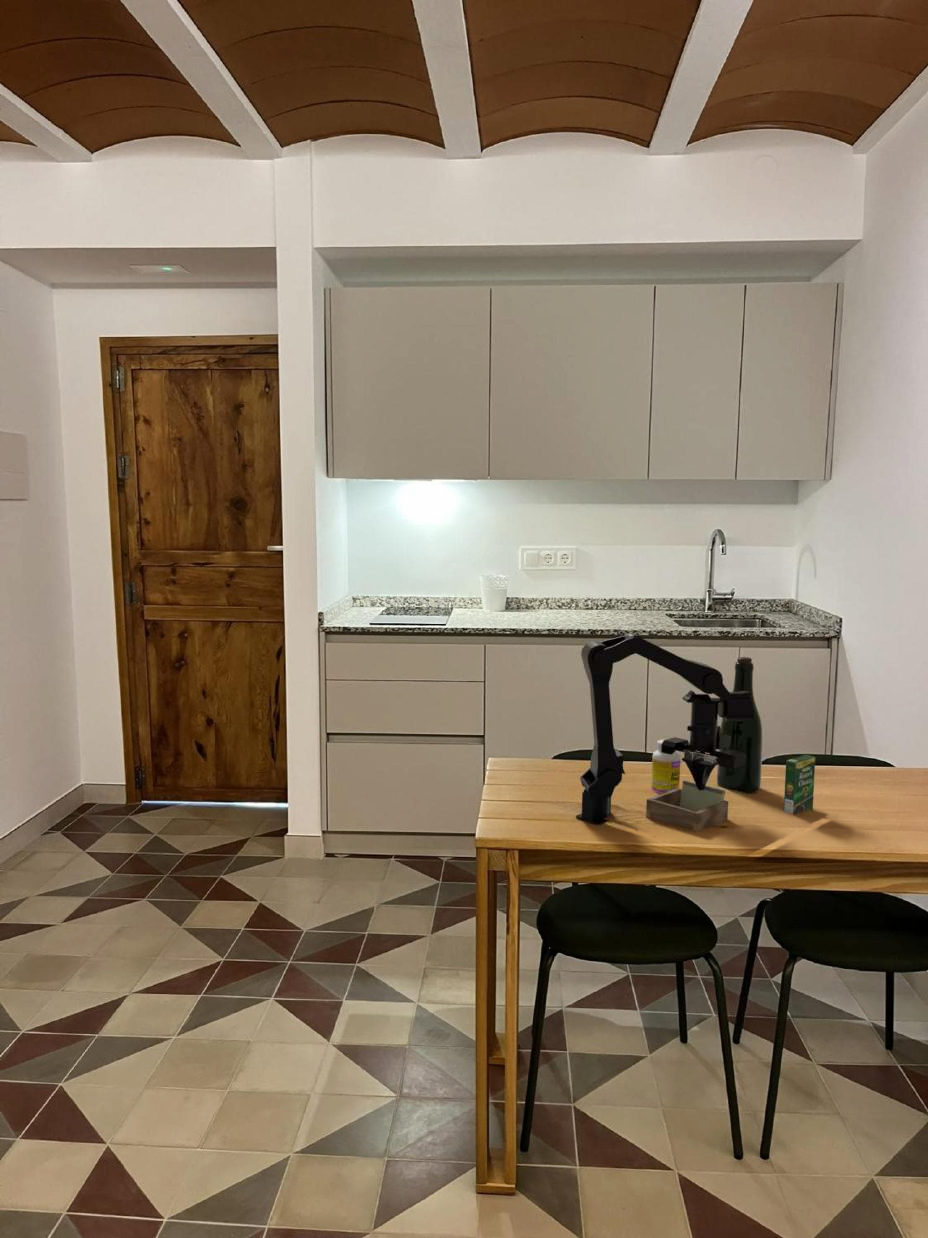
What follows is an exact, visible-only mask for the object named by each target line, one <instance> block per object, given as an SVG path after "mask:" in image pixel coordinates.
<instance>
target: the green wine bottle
mask: <svg viewBox="0 0 928 1238" xmlns="http://www.w3.org/2000/svg"><path fill="white" fill-rule="evenodd" d="M752 659H753V658H751V657H748V656H739V657H737V660H736V662H735V663H734V682H733V689H732V692H740V691H748V692H750V693H751V697H750V698H751V700H752V703H753V708H754V716H753V719H752V721H750V722H724V721H723V719H722V718H721V722H720V728H721V733H723V734H726V735H728V736H731V741H730V745H729V749H731V750H736V751H740V752H744V754H745V755H746V757H747V758H746V765H744V766H741V767H738V768H735V769H730V768H726V767H721V766H719V765H717V767H716V768H717V771H716V773H717V774H716V785H717V787H719V788H723V789H726V790H729V791H736V792H739V793H743V794H747V795H748V794H749V795H750V794H755V793H757V792H758V791H760V790H761V785H762V768H763V767H762V763H763V725H762V718H761V716H760V714H759V713H760V712H759V710H758V707H757V704H756V700H755V696H754V695H755V694H754V687H753V686H754V682H753V681H754V677H753V676H754V668H755V667H754V663H753V662H752V661H753V660H752ZM729 749H728V750H729ZM718 751H719V752H722V751H726V750H725V749H723V748H722V749H718Z"/></svg>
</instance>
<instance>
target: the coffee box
mask: <svg viewBox="0 0 928 1238" xmlns="http://www.w3.org/2000/svg"><path fill="white" fill-rule="evenodd" d="M815 769H816V757H815V756H812V755H809V754H803V755H800V756H798V757H794V758H790V759H787V760H786V761H785V774H784V775H785V776H784V796H783V797H784V799H783V812H784V813H787V814H791V815H796V814H799V813H802V812H807V811H808V810H810V811H814V789H815V772H816V771H815Z"/></svg>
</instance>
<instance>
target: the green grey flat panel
mask: <svg viewBox="0 0 928 1238" xmlns="http://www.w3.org/2000/svg"><path fill="white" fill-rule="evenodd" d="M725 795H726V790H724V789H720V788H717V787H716V788H715V787H712V786H708V785H705V788H704V790H702V791H701V790H698V788H697V786H696V784H695V782H694V781H693V782H692V781H689V780H682V787H681V800H680V806H679V807H682V808H685V809H689V810H692V811H696V812H697V811H699V810H702V809H704V808H707V807H709V806H712V805H714V804H717V803H719V802H722V801H725V797H726V796H725Z"/></svg>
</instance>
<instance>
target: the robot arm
mask: <svg viewBox="0 0 928 1238" xmlns="http://www.w3.org/2000/svg"><path fill="white" fill-rule="evenodd" d="M580 654H581V655H580V656H581V659H582V660H581V661H582V665H583V668H584V671H585V674H586V677H587V680H588V682H589V691H590V693H589V694H590V703H591V704H590V705H591V716H592V717H591V718H592V731H593V732H592V733H593V744H594V745H593V748H592V750H591V751H592V752H591V755H590V766H589V768H588V769H587V770H586V771H585V772H584V773H583V774H582V775H581V776H580V777H579V780H580V783H581V785H582V787H584V789H583V792H581V813H579V814H576V815H575V818H576V819H579V820H583V821H586V822H589V823H592V824H594V825H598V826H599V825H601V824H605V823H606V822H610V820H609V819H607V818H608V817H609V816H610V814H611V813H612V810H611V809H612V796H613V793H614V790H615V789H616V787H618V786H619V785H620V783H621V782H622V780H623V775H625V774H626V772H625V770H624V755H623V754H622V753H621V752H620V751H619V750H618V749H617V748H615V746H614V736H613V719H612V709H611V708H612V707H611V696H610V695H611V693H610V682H611V678H612V676H613V669H614V668H613V667H614V664H615V663H619V662H621V661H623V660H624V659H626V658H628V657H630V656H632V655H638V656H640V657H641V658H645V659H647V660H648V661H651V662H652V663H654V664H657V665H658V666H661V667H663V668H665V669H667V670H669V671H670V672H673V673H675V674H677V675H678V676H679V677H681V678H682V679H683V680H684V681H686V682H687V683H688V684H690V685H691V686H692V687H694V688H695V689H697V690H699V691H701V692H703V693H695V691H693V690H691V689H689V691H688V692H687V693H686V694H684V695H683V696H682V697H681V698H682V700H683V701H685V702H686V703H688V704H690V703H691V708H690V711H691V713H690V725H687V727H686V728H687V729H686V730H687V731H689V732H690V733H689V740H688V739H685V738H681V737H680V738H679V737H676V736H675V737H671V738H666V739H663V740H664V741H663V742H662V744H661V752H662V753H666V754H670V755H671V754H673V753H674V752H675V750H676V752H681V753H683V758H681V761H682V762H684V763H685V765H686V766H687V769H688V770H689V772H690V774H691V777H692V779H693V782H694V783H695V784H696V786H697V788H698V790H701V791H702V790H704V788H705V786H707V783H708V781H709V778H710V777H711V774H712V772H713V771H714V769H715V767H717V766H718V765H719V766H721V767H726V768H730V769H735V768H738V767H741V766H744V765H746V758H747V757H746V755H745V754H744V752H740V751H736V750H731V749H729V745H730V741H731V736H728V735H726V734H723V733H721V725H718V720H719V719H718V718H721V720H722V719H723V721H724V722H750V721H752V719H753V716H754V708H753V703H752V700H751V698H750V697H751V693H750V692H748V691H740V692H733V691H729V690H728V689H727V687H726V686H725V684H724V678H723V673H721V672H720V671H719V670H718V669H717V668H715V667H712V666H710V665H708V664H706V663H703V662H698V661H696V660H692V659H686V658H683V657H681V656H679V655H677V654H675V653H672V652H671V651H669V650H666V649H664V648H662V647H661V646H659V645H656V644H654V642H653V643H652V642H650V641H648V640H647V639H644V638H643V637H642V636H641V635H638V633H634V632H629V633H627V634H625V635H622V636H618V637H614V638H608V639H606V640H602V641H598V640H596V641H595V640H591V641H589V642H587V643H585V645H584V646H583V647H581V653H580ZM712 694H713V696H714V695H715V696H716V697H710V695H712ZM722 748H723V749H725V750H726V751H722V752H719V749H722ZM728 749H729V750H728ZM717 750H718V751H717Z"/></svg>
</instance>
